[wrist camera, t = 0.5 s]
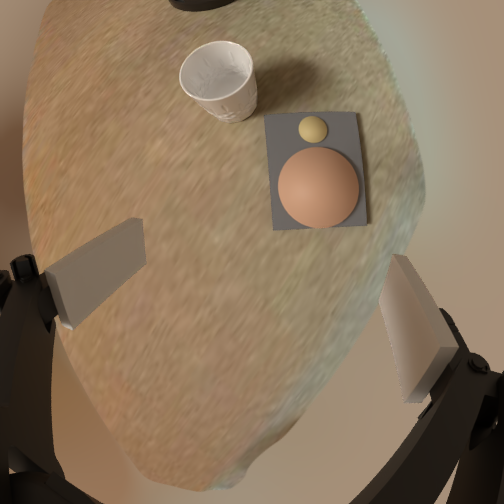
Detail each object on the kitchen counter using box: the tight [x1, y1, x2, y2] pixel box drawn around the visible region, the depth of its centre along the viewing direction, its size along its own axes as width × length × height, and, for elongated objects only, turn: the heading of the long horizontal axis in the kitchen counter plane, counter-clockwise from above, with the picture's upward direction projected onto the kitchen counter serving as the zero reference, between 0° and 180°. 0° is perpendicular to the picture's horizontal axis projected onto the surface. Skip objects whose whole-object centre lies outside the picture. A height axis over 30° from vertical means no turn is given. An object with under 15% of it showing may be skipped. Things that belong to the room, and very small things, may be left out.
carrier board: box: [264, 112, 367, 230], centre depth 32 cm, size 15×12×2 cm
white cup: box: [179, 41, 258, 123], centre depth 28 cm, size 8×8×10 cm
